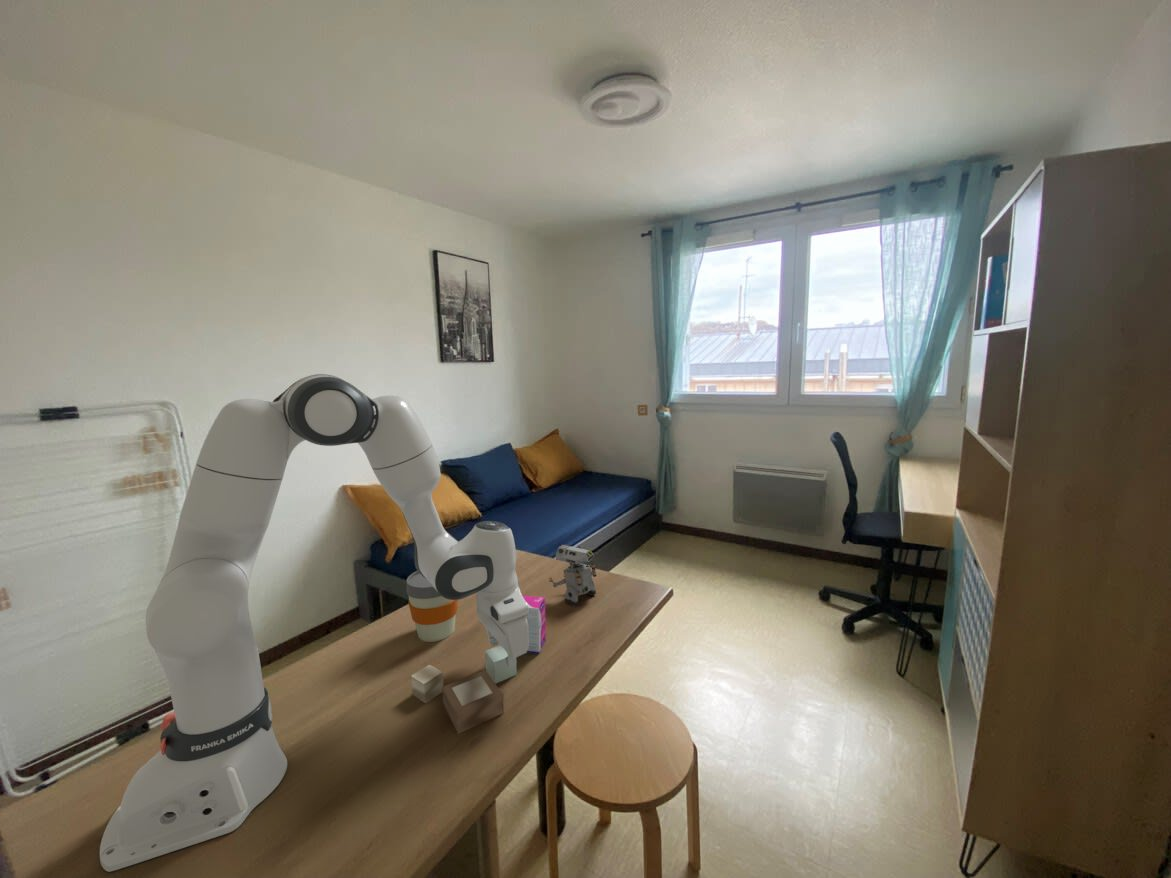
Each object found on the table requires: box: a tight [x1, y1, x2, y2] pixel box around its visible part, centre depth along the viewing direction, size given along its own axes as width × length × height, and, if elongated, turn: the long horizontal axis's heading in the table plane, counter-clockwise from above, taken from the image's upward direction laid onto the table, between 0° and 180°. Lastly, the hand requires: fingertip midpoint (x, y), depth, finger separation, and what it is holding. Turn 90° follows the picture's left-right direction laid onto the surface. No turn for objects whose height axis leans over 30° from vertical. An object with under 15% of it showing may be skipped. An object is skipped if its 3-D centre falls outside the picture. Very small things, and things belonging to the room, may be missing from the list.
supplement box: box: [522, 594, 547, 655], centre depth 111 cm, size 6×6×12 cm
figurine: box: [548, 544, 597, 607], centre depth 134 cm, size 9×12×15 cm
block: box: [410, 664, 444, 704], centre depth 96 cm, size 4×4×4 cm
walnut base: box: [442, 669, 505, 735], centre depth 91 cm, size 9×9×4 cm
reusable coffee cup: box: [406, 570, 459, 643], centre depth 118 cm, size 13×13×15 cm
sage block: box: [484, 644, 518, 685], centre depth 102 cm, size 5×5×5 cm
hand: (502, 653), depth 102 cm, fingers open, 8 cm apart
